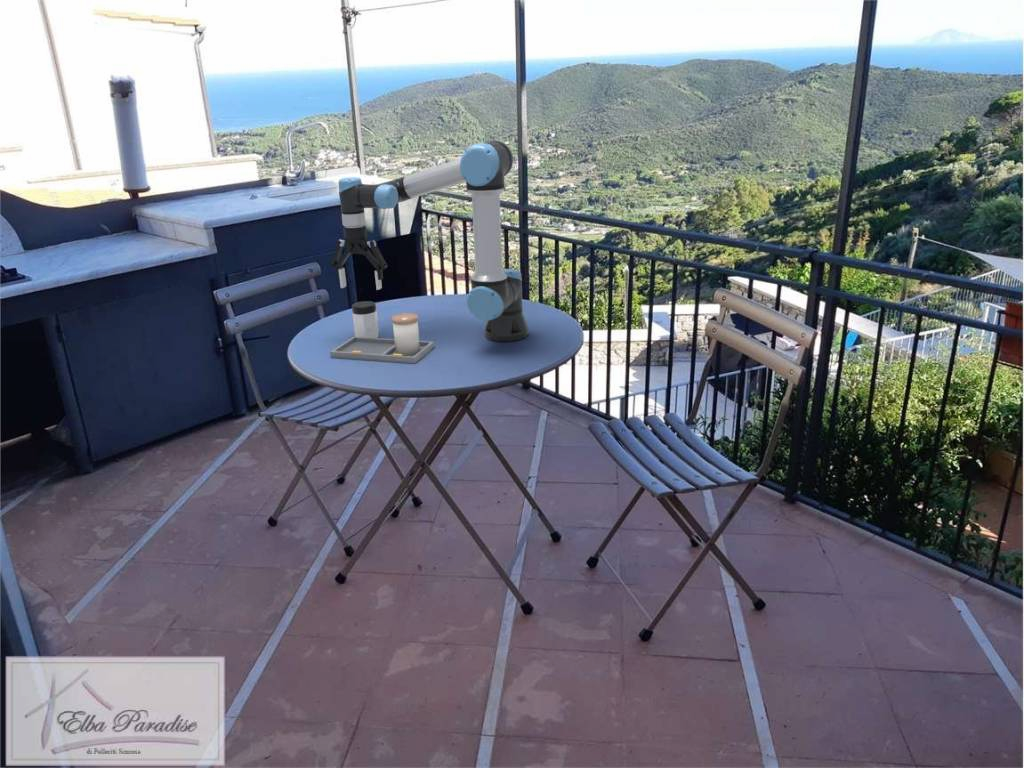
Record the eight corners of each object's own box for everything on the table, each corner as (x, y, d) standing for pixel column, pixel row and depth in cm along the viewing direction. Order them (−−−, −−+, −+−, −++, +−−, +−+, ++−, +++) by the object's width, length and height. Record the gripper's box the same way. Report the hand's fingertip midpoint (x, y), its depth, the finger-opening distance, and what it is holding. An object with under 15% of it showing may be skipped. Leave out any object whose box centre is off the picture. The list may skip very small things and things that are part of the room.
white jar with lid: (424, 349, 246) (421, 313, 242) (414, 357, 239) (411, 321, 235) (401, 347, 249) (398, 312, 244) (390, 355, 241) (387, 319, 237)
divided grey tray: (434, 347, 250) (433, 340, 249) (415, 363, 235) (414, 356, 234) (354, 342, 258) (353, 334, 257) (330, 357, 244) (329, 350, 243)
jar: (360, 342, 257) (356, 309, 253) (351, 336, 264) (346, 304, 259) (383, 337, 262) (380, 304, 257) (374, 331, 268) (370, 299, 264)
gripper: (393, 224, 248) (399, 286, 256) (326, 223, 255) (334, 283, 263) (383, 228, 241) (389, 292, 249) (315, 227, 248) (323, 289, 256)
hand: (361, 288), depth 256 cm, fingers open, 13 cm apart
